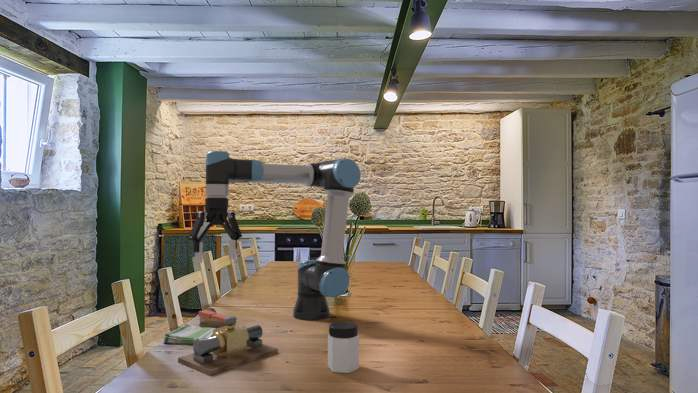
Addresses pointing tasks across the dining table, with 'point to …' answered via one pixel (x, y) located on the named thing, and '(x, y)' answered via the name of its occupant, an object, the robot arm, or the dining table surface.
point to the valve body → (227, 342)
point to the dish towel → (188, 334)
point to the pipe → (210, 321)
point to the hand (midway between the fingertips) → (215, 260)
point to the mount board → (228, 360)
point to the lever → (218, 317)
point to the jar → (343, 347)
